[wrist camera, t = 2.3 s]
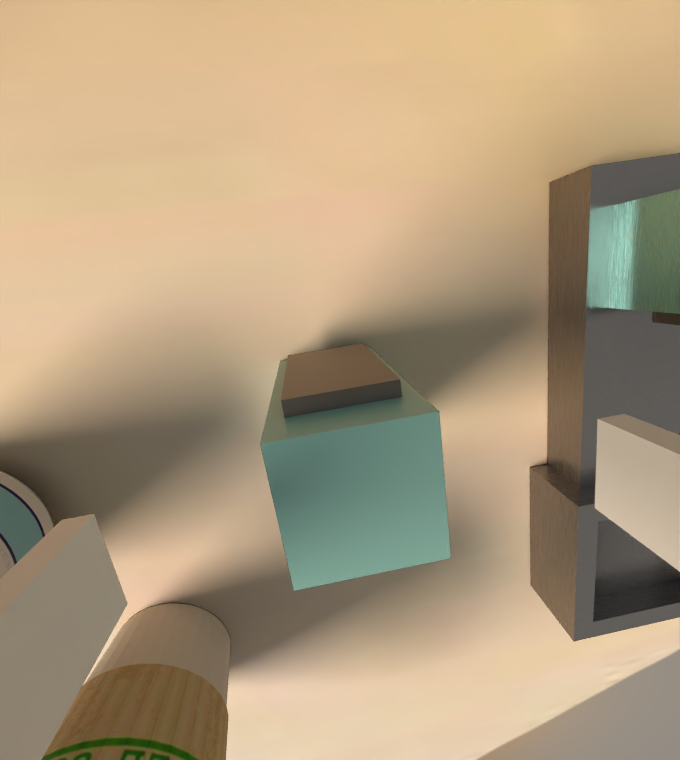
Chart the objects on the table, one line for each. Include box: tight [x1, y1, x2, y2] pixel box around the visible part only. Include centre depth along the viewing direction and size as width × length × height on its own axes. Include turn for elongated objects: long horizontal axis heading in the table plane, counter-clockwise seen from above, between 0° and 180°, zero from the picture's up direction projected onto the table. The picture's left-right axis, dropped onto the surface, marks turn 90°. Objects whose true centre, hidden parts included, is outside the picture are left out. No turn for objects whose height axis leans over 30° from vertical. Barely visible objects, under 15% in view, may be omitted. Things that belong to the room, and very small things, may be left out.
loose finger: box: [260, 343, 451, 591], centre depth 13 cm, size 5×4×9 cm
